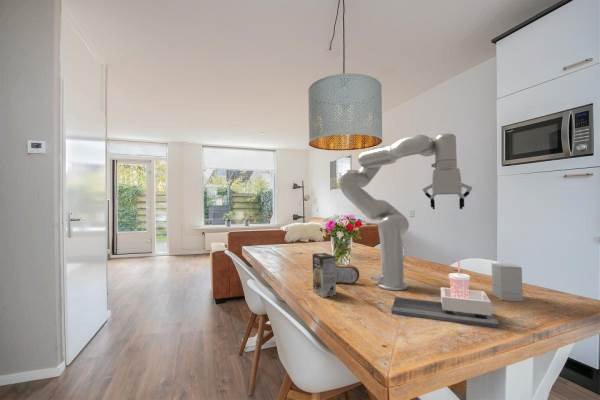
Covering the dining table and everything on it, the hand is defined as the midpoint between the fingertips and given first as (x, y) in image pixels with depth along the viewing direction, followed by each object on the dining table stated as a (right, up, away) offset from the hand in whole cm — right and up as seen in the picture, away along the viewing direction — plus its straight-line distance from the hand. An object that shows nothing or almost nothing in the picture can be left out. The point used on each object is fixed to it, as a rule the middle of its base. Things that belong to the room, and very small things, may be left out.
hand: (447, 209), depth 111 cm
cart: (-5, -33, -20) cm, 39 cm away
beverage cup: (-6, -30, -19) cm, 36 cm away
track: (-11, -34, -17) cm, 40 cm away
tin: (-38, -36, +21) cm, 56 cm away
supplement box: (+21, -34, -3) cm, 40 cm away
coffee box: (-48, -36, +6) cm, 60 cm away
